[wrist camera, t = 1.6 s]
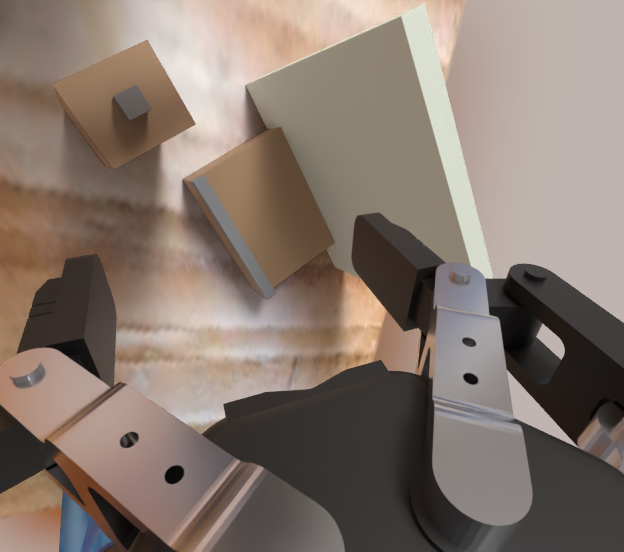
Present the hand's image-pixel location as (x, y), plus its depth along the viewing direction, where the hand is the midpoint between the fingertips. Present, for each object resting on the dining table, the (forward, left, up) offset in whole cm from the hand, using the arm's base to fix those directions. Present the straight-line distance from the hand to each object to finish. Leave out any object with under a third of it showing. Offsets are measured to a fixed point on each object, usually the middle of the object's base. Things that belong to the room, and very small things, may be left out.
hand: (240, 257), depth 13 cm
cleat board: (+6, +8, -24) cm, 26 cm away
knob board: (-6, +1, -24) cm, 24 cm away
